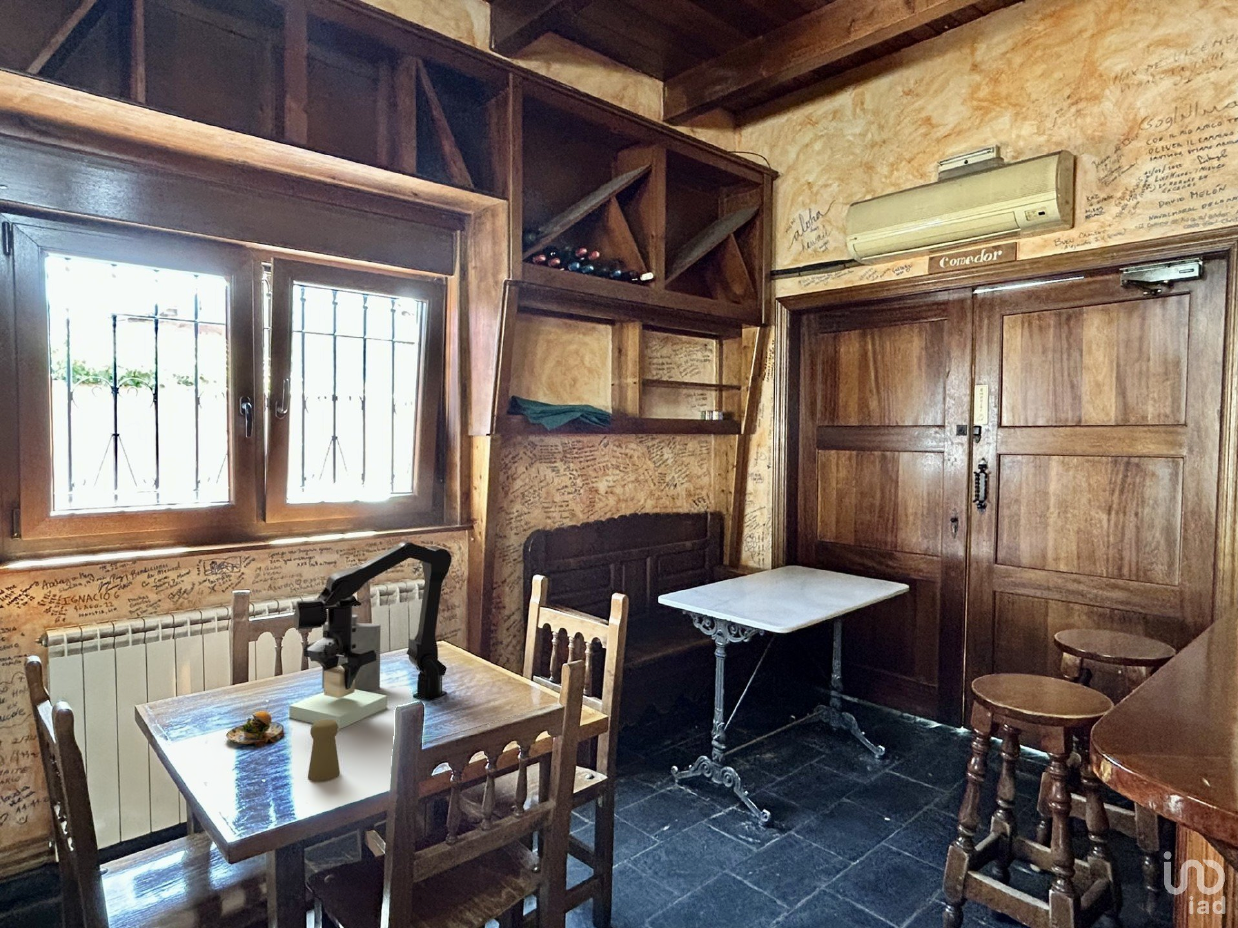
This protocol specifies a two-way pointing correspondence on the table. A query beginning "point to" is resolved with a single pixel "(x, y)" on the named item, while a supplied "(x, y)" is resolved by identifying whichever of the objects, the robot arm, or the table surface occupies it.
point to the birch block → (336, 683)
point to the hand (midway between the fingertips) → (339, 687)
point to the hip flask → (369, 639)
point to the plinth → (338, 707)
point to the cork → (324, 751)
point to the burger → (257, 730)
